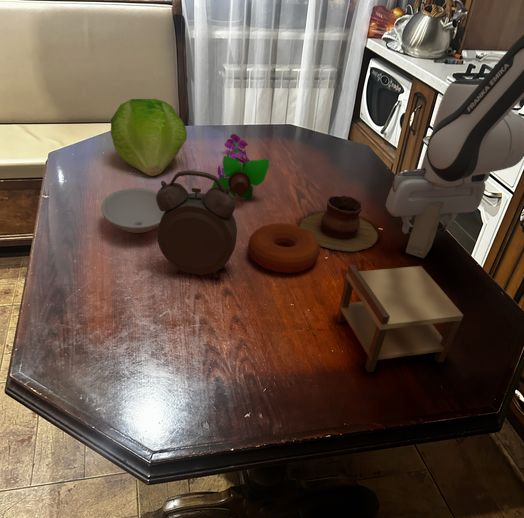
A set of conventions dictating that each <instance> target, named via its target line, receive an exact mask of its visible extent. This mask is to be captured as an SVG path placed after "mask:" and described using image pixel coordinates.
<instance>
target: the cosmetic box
mask: <svg viewBox="0 0 524 518" xmlns="http://www.w3.org/2000/svg"><path fill="white" fill-rule="evenodd" d="M442 206H443V203H428V206H427V210H426V213H425V214H424V215H415V218H414V221H413V224H412V225H413V226H414V227H413V230H412V233H410V235H409V237H408V238H409V239H408V242H407V244H406V245H407V246H406V249H405V253H406V254H408V255H411V256H414V257H418V258H420V259H425V257H426V256H427V254H428V253H429V252H430V250H431V248H432V246H433V243H434V240H435V237H436V235H437V231H438V229H437V228H438V225H439V222H440V221H441V220H442V215H443V214H440V213H441V209H442Z"/></svg>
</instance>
